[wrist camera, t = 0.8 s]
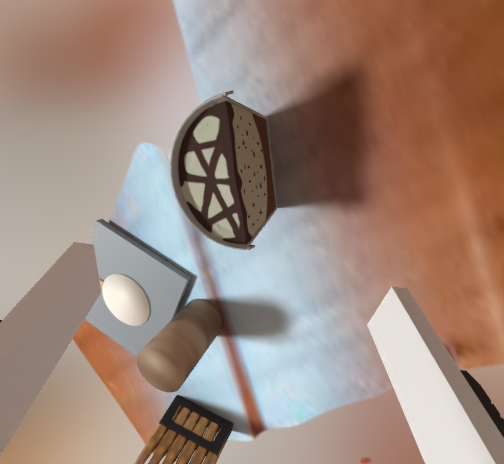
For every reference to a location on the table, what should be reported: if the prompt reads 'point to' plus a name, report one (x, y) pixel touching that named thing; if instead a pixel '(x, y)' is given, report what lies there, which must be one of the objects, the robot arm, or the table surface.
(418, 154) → the table surface
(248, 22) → the table surface
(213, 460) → the ammunition clip
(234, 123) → the food container
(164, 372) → the brown cylinder
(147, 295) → the seat board
